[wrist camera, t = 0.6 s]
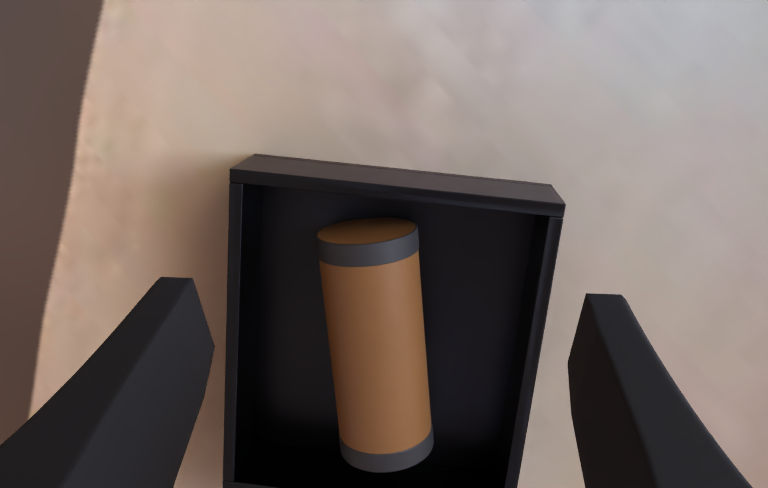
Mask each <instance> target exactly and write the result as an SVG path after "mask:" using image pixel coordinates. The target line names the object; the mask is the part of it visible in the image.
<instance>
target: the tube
mask: <svg viewBox="0 0 768 488" xmlns="http://www.w3.org/2000/svg"><path fill="white" fill-rule="evenodd" d="M315 239H316V247H317V256H318V258H319V263H320V272H321V280H322V289H323V297H324V306H325V314H326V323H327V331H328V340H329V348H330V357H331V365H332V374H333V382H334V391H335V399H336V408H337V416H338V425H339V442H340V450H341V454H342V456H343V458H344V459H345V460H346V461H347V462H348V463H349V464H350V465H352V466H354V467H356V468H358V469H361V470H364V471H369V472H380V473H384V472H394V471H399V470H403V469H406V468H409V467H412V466H414V465H416V464H418V463H419V462H421V461H422V460H424V459H425V458H426V457H427V456H428V455H429V454H430V452H431V450H432V448H433V444H434V439H433V426H432V421H431V412H430V399H429V385H428V372H427V359H426V345H425V332H424V318H423V305H422V292H421V278H420V265H419V251H418V249H419V236H418V226H417V224H416V223H414V222H412V221H410V220H406V219H402V218H393V217H371V218H360V219H353V220H347V221H343V222H339V223H335V224H332V225H329V226H327V227H325V228H323V229H321V230H319V231H318V232H317V233H316V235H315Z"/></svg>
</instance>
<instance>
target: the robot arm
mask: <svg viewBox="0 0 768 488" xmlns="http://www.w3.org/2000/svg"><path fill="white" fill-rule="evenodd" d="M214 347H215V346H214V343H213V340H212V337H211V334H210V330H209V327H208V324H207V321H206V318H205V315H204V312H203V309H202V306H201V303H200V299H199V296H198V293H197V290H196V287H195V284H194V281H193V278H176V277H160V278H159V279H158V280H157V281H156V282H155V283H154V285H153V286H152V287H151V288H150V289H149V290H148V292H147V293H146V294H145V295H144V296H143V297H142V299H141V300H140V301H139V302H138V303H137V305H136V306H135V307H134V308H133V309H132V310H131V312H130V313H129V314H128V315H127V316H126V317H125V319H124V320H123V321H122V322H121V323H120V324H119V325H118V327H117V328H116V329H115V330H114V331H113V332H112V333H111V335H110V336H109V337H108V338H107V339H106V340H105V341H104V342H103V344H102V345H101V346H100V347H99V348H98V349H97V350H96V351H95V352H94V353H93V355H92V356H91V357H90V358H89V359H88V360H87V361H86V362H85V363H84V364H83V366H82V367H81V368H80V369H79V370H78V371H77V372H76V373H75V374H74V375H73V376H72V377H71V378H70V379H69V380H68V381H67V382H66V383H65V384H64V385H63V386H62V387H61V388H60V389H59V390H58V391H57V392H56V393H55V394H54V395H53V396H52V397H51V398H50V399H49V400H48V401H47V402H46V403H45V404H44V405H43V406H42V407H41V408H40V409H39V410H38V411H37V412H36V413H35V414H34V415H33V416H32V417H31V418H30V419H29V420H28V421H27V422H26V423H25V424H24V425H23V426H21V427H20V428H19V429H18V430H17V431H16V432H15V433H14V434H13V435H12V436H10V437H9V438H8V439H7V440H6V441H5V442H4V443H3V444H1V445H0V488H173V486H174V483H175V480H176V477H177V474H178V471H179V468H180V466H181V463H182V460H183V457H184V454H185V451H186V448H187V445H188V443H189V440H190V437H191V434H192V431H193V428H194V425H195V422H196V419H197V416H198V413H199V410H200V407H201V404H202V401H203V398H204V395H205V390H206V386H207V381H208V377H209V372H210V367H211V362H212V357H213V352H214ZM568 375H569V390H570V402H571V414H572V420H573V426H574V431H575V436H576V441H577V447H578V452H579V457H580V462H581V467H582V472H583V478H584V483H585V488H753V487H752V486H751V485H750V484H749V483H748V482H747V480H746V479H745V478H744V477H743V475H742V474H741V473H740V472H739V470H738V469H737V468H736V467H735V466H734V464H733V463H732V462H731V460H730V459H729V458H728V457H727V455H726V454H725V453H724V451H723V450H722V449H721V447H720V446H719V445H718V443H717V442H716V441H715V439H714V438H713V437H712V435H711V434H710V433H709V431H708V430H707V429H706V427H705V426H704V425H703V423H702V422H701V420H700V419H699V417H698V416H697V415H696V413H695V412H694V410H693V409H692V408H691V406H690V405H689V403H688V402H687V400H686V399H685V397H684V396H683V394H682V393H681V391H680V390H679V388H678V387H677V385H676V384H675V382H674V381H673V379H672V378H671V376H670V374H669V373H668V371H667V370H666V368H665V367H664V365H663V363H662V362H661V360H660V358H659V357H658V355H657V354H656V352H655V350H654V349H653V347H652V345H651V344H650V342H649V340H648V339H647V337H646V335H645V333H644V332H643V330H642V328H641V326H640V325H639V323H638V321H637V319H636V317H635V316H634V314H633V312H632V310H631V308H630V307H629V305H628V303H627V301H626V299H625V298H624V297H623V296H622V295H613V294H588V293H586V296H585V299H584V303H583V307H582V311H581V314H580V318H579V322H578V326H577V330H576V333H575V337H574V341H573V345H572V348H571V352H570V356H569V360H568Z"/></svg>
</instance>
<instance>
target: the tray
mask: <svg viewBox="0 0 768 488" xmlns="http://www.w3.org/2000/svg"><path fill="white" fill-rule="evenodd" d="M229 181H230V185H229V230H228V274H227V319H226V363H225V408H224V453H223V488H517V485H518V479H519V473H520V467H521V461H522V456H523V450H524V444H525V438H526V432H527V427H528V421H529V415H530V409H531V403H532V397H533V392H534V386H535V380H536V374H537V368H538V363H539V357H540V351H541V345H542V339H543V334H544V328H545V322H546V316H547V310H548V304H549V299H550V293H551V287H552V281H553V275H554V270H555V264H556V258H557V252H558V246H559V240H560V235H561V229H562V223H563V217H564V212H565V206H566V204H565V203H564V201H563V200H562V199H561V197H560V196H559V195H558V193H557V192H556V191H555V189H554V188H553V187H552V185H551V184H541V183H532V182H522V181H512V180H503V179H493V178H483V177H474V176H464V175H455V174H445V173H435V172H426V171H416V170H406V169H397V168H387V167H377V166H368V165H358V164H349V163H339V162H329V161H320V160H310V159H300V158H291V157H281V156H271V155H262V154H254V155H252V156H250V157H249V158H247V159H245V160H244V161H242V162H240V163H239V164H237V165H235V166H234V167H232V168H230V179H229ZM371 217H393V218H402V219H406V220H410V221H412V222H414V223H416V224H417V226H418V236H419V249H418V251H419V265H420V278H421V292H422V305H423V318H424V332H425V345H426V359H427V372H428V385H429V399H430V412H431V421H432V426H433V439H434V444H433V448H432V450H431V452H430V454H429V455H428V456H427V457H426V458H425V459H424V460H422V461H421V462H419V463H418V464H416V465H414V466H412V467H409V468H406V469H403V470H399V471H394V472H384V473H380V472H369V471H364V470H361V469H358V468H356V467H354V466H352V465H350V464H349V463H348V462H347V461H346V460H345V459H344V458H343V456H342V454H341V450H340V442H339V425H338V416H337V408H336V399H335V391H334V382H333V374H332V365H331V357H330V348H329V340H328V331H327V323H326V314H325V306H324V297H323V289H322V280H321V272H320V263H319V258H318V256H317V247H316V239H315V235H316V233H317V232H318V231H319V230H321V229H323V228H325V227H327V226H329V225H332V224H335V223H339V222H343V221H347V220H353V219H360V218H371Z"/></svg>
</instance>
